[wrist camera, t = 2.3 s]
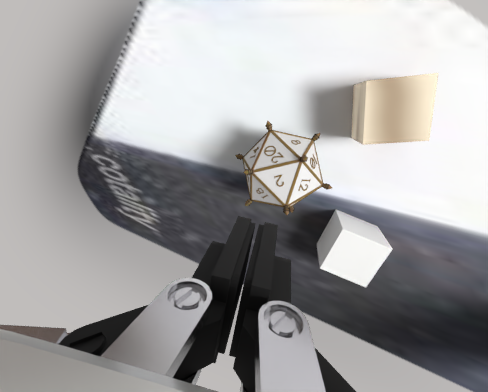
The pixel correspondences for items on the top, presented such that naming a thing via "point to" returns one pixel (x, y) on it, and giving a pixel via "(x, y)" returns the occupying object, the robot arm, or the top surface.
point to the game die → (282, 169)
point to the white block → (352, 248)
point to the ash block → (393, 109)
